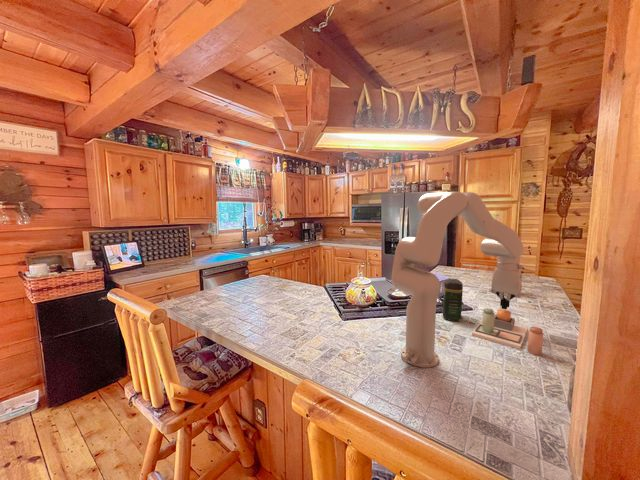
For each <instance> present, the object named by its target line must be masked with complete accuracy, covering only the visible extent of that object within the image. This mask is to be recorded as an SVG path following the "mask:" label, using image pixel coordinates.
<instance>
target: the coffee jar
mask: <svg viewBox="0 0 640 480" xmlns="http://www.w3.org/2000/svg"><path fill="white" fill-rule="evenodd" d="M443 283H444V284H443V301H442V317H443V318H444V320H445V319H446V320H449V321H453V322H455V321H456V322H458V321H461V319H462V307H463V306H462V305H463V288H464V287H463V285H464V284H463V282H462V281H460V280H459V279H458V278H452V277H451V278H450V277H449V278H447V279H445V280H444V282H443Z"/></svg>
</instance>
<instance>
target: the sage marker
mask: <svg viewBox="0 0 640 480" xmlns="http://www.w3.org/2000/svg"><path fill="white" fill-rule="evenodd" d="M494 316H495V311H494V309H492V308H483V311H482V320H483V322H482V330H483V331H484V332H487V333H493V332H494Z"/></svg>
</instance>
